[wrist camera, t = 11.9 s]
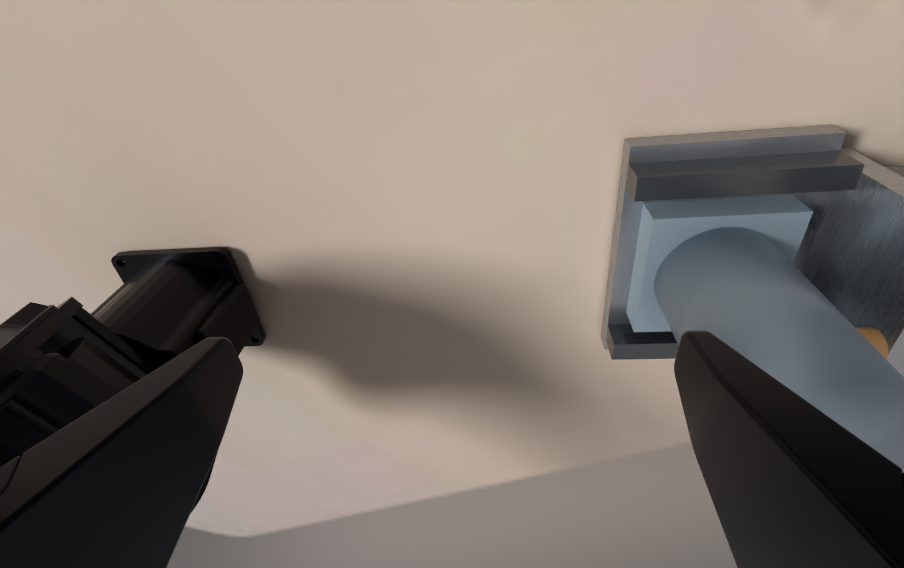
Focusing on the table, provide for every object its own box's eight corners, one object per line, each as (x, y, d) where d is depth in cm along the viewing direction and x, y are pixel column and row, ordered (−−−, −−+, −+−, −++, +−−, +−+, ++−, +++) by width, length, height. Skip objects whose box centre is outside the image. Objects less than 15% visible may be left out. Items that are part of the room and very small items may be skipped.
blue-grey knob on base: (626, 312, 23) (698, 502, 15) (643, 203, 20) (747, 373, 12) (764, 308, 23) (916, 505, 15) (805, 194, 19) (1035, 368, 11)
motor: (601, 336, 26) (632, 445, 20) (624, 138, 20) (679, 214, 14) (902, 329, 24) (1030, 445, 18) (1034, 110, 18) (1289, 184, 12)
